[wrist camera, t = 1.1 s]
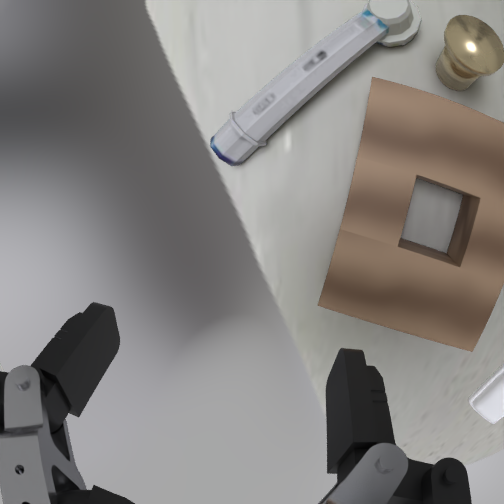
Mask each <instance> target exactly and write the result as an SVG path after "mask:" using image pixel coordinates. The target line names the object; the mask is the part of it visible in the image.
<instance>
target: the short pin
mask: <svg viewBox="0 0 504 504" xmlns="http://www.w3.org/2000/svg"><path fill="white" fill-rule="evenodd" d="M444 41H445V45H446V46H445V47H444V49H443V51H442V53H441V55H440V57H439V59H438V60H437V63H436V73H437V75H438V77H439V79H440V80H441V82H442V83H443V84H444V85H445V86H447V87H448V88H450V89H452V90H456V91H462V90H465V89H467V88H468V87H469V86H470V85H471V84H472V83H473V82H474V81H475V80H476V79H477V78H478V77H480V76H488V75H491V74H493V73H495V72H496V71H497V70H498V69H500V68H501V66H502V65H503V63H504V48H503V45H502V43H501V41H500V39H499V37H498V36H497V34H496V33H495V32H494V31H493V29H492V28H491V27H489V26H488V25H487V24H486V23H484V22H483V21H481V20H479V19H477V18H475V17H472V16H468V15H459V16H455V17H454V18H452V19H451V20H450V21H449V23H448V25H447V27H446V29H445V32H444Z"/></svg>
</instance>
